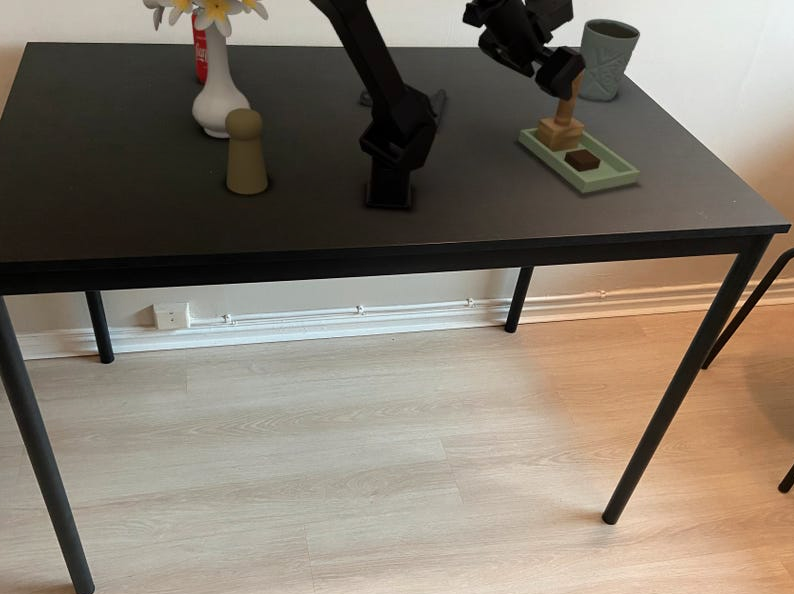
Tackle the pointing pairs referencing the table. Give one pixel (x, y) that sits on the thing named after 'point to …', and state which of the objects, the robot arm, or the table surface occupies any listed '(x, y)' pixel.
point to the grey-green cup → (605, 56)
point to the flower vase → (212, 56)
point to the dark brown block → (582, 160)
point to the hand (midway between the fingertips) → (550, 86)
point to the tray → (605, 176)
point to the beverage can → (200, 49)
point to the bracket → (435, 99)
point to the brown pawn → (245, 152)
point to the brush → (562, 124)
